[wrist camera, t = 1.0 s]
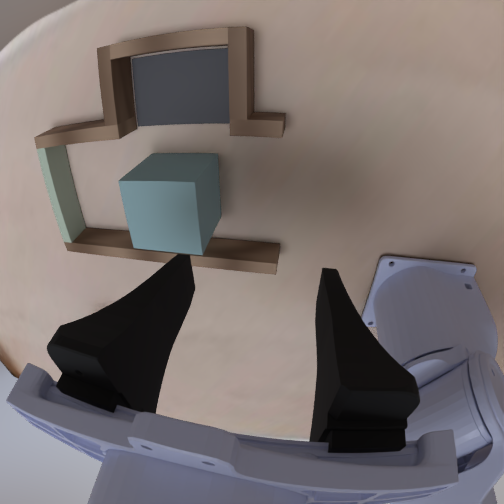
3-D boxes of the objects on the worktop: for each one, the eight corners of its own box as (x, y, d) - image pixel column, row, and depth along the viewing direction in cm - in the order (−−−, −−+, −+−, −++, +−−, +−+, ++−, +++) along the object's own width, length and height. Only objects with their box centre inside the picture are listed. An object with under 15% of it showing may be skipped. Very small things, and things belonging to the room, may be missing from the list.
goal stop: (63, 137, 21) (44, 147, 19) (86, 227, 26) (71, 242, 24) (55, 138, 21) (36, 149, 19) (78, 227, 27) (64, 241, 25)
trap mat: (234, 48, 16) (233, 48, 16) (235, 123, 19) (235, 123, 19) (132, 58, 17) (132, 58, 17) (138, 126, 20) (138, 126, 20)
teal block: (218, 153, 21) (194, 182, 17) (221, 215, 24) (202, 255, 20) (152, 153, 21) (118, 180, 17) (161, 212, 24) (133, 248, 20)
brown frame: (286, 30, 15) (284, 26, 13) (279, 254, 25) (275, 274, 23) (45, 67, 17) (24, 73, 15) (81, 235, 27) (67, 250, 25)
